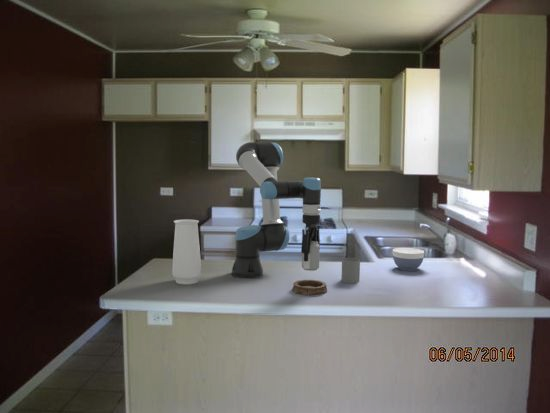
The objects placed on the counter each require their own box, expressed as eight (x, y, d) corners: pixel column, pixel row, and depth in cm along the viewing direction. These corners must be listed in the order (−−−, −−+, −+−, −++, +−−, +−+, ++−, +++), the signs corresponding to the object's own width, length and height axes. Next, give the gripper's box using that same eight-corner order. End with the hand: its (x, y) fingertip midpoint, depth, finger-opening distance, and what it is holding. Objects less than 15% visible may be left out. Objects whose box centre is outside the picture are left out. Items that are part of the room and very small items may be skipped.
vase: (205, 283, 239) (205, 222, 235) (178, 286, 232) (177, 224, 229) (194, 276, 250) (194, 218, 246) (168, 280, 243) (167, 220, 240)
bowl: (427, 267, 274) (428, 249, 273) (418, 273, 261) (418, 254, 260) (397, 263, 283) (398, 246, 282) (387, 269, 270) (388, 251, 269)
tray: (286, 292, 225) (286, 285, 225) (301, 284, 239) (301, 277, 238) (319, 297, 219) (319, 290, 218) (332, 288, 232) (332, 282, 232)
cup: (358, 283, 241) (359, 262, 240) (340, 282, 243) (341, 261, 242) (359, 279, 250) (360, 258, 249) (342, 278, 251) (342, 257, 250)
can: (300, 267, 231) (301, 240, 229) (317, 267, 231) (318, 240, 230) (303, 271, 223) (303, 243, 222) (320, 271, 224) (321, 243, 223)
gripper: (310, 217, 214) (309, 272, 217) (328, 212, 232) (327, 263, 235) (293, 216, 217) (292, 270, 220) (312, 210, 235) (311, 261, 238)
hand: (310, 266), depth 227 cm, fingers closed on can, 7 cm apart
